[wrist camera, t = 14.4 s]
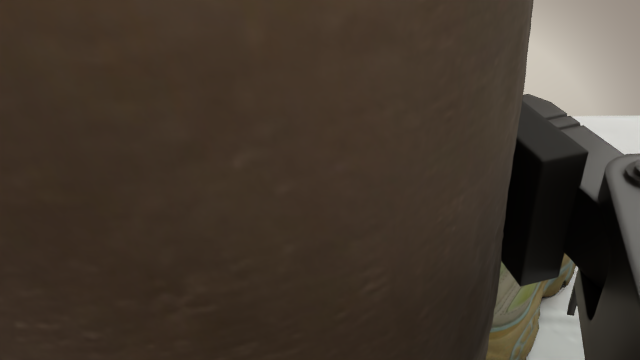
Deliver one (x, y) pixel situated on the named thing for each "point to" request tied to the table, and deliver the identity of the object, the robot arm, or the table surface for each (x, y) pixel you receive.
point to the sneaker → (520, 313)
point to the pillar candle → (255, 177)
